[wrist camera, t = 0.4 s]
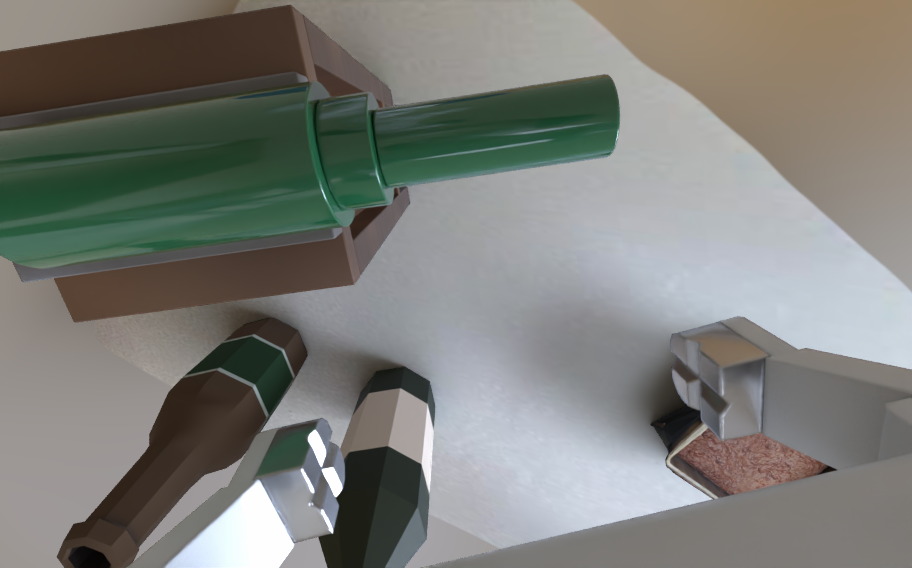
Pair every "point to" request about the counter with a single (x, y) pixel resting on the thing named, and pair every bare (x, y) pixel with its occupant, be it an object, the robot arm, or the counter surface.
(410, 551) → the wine bottle
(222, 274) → the bottle rack
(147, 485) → the beer bottle
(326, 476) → the robot arm
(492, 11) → the counter surface
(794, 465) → the baking dish
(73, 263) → the green bottle
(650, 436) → the counter surface
